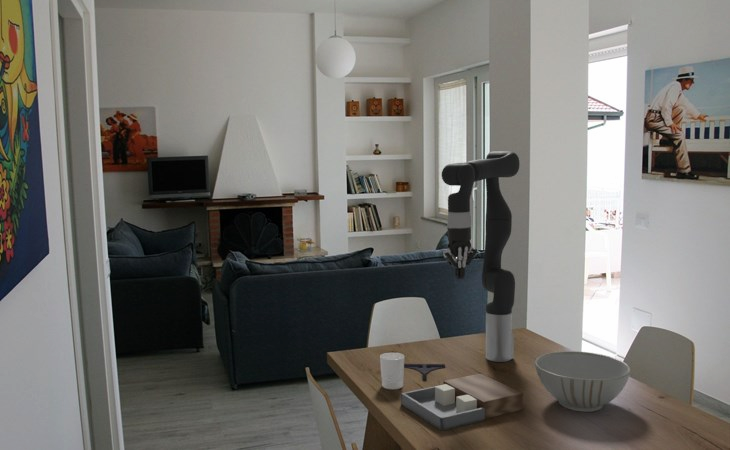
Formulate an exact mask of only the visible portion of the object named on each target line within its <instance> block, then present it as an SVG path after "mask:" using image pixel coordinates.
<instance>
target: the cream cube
mask: <svg viewBox="0 0 730 450" xmlns="http://www.w3.org/2000/svg"><path fill="white" fill-rule="evenodd" d="M435 401H436V402H438V403H440V404H442V405H443V406H445V405H449V404H453V403H455V388H453V387H451V386H449V385H447V384H444V383H443V384H440V385H435Z"/></svg>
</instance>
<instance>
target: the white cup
mask: <svg viewBox="0 0 730 450" xmlns="http://www.w3.org/2000/svg"><path fill="white" fill-rule="evenodd" d="M379 359H380V362H379V363H380V364H379V365H380V377H381V386H382V388H384V389H386V390H399V389H401V388H403V387H404V375H405V367H404V364H405V355H404V354H402V353H401V352H386V353H382V354H380V355H379Z"/></svg>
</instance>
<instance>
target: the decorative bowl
mask: <svg viewBox="0 0 730 450" xmlns="http://www.w3.org/2000/svg"><path fill="white" fill-rule="evenodd" d="M534 366H535V370H536V373H537V376H538V379H539V380H540V383H542V385H543V387H544V388H545V390H546V391H547V392H548V393H549V394H550V396H552V397H553V398H554V399H556V400H557V401H559V405H560V406H561V407H563V408H565V409H567V410H571V411H574V412H575V411H576V412H582V413H590V412H591V413H592V412H598V411H600V410H602V409H603V407H604V405H606V404H608V403H611V402H612V401H613V400H615V399H616V398H617V397H618V396H619V395H620V394H621V392H622V391H623V390H624V388H625V387H626V385H627V383H628V380H629V378H630V375H631V367H630V366H629V365H628V364H627V363H626V362H624V361H622V360H620V359H617V358H616V357H613V356H610V355H606V354H605V355H604V354H601V353H594V352H586V351H574V350H573V351H571V350H570V351H569V350H568V351H565V350H564V351H554V352H548V353H544V354H541V355H540V356H538V357H536V358H535V360H534Z"/></svg>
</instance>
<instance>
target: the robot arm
mask: <svg viewBox="0 0 730 450" xmlns="http://www.w3.org/2000/svg"><path fill="white" fill-rule="evenodd" d="M519 169H520V158H519V155H518V154H517V153H516V152H514V151H507V150H504V151H503V150H502V151H497V150H496V151H490V152H488V153H487V155H486V158H483V159H482V158H481V159H473V160H469V161H465V162H453V163H448V164H446V165H445V166H444V167H443V168H442V171H441V180H442V181H443V183H444V184H446V185H448V186H453V187H454V186H457V187H459V189H458V190H457V192H454V193H450V194H449V195H448V196H447V219H446V220H447V221H446V222H447V228H446V229H447V241H448V242H447V249H445V251H441V255H442V257H443V258H444V259H445V261H446V262H447V263H448V265H449V266H450V267H454V276H455V278H456V280H462V279H463V280H464V278H465V276H466V275H465V274H466V273H465V272H466V271H465V270H466V269H465V268H466V266H469V265H470V264H471V262H472V261H473V259H474V257H475V255H476V254H477V252H478V249H477V248H474V247H473V246H472V243H471V241H472V240H471V239H472V217H471V196H472V193H473V186H474V183H476V182H480V181H482V180H485V188H486V189H485V190H486V201H485V203H486V207H485V208H486V209H485V239H484V255H483V263H482V272H481V285H482V287H483V288H484V290H485V291H487V292H490V293H492V294H493V297H492V298H493V299H492V301H491V302H488V303H487V304H486V305H485V359H486V360H487V361H490V362H494V363H495V362H498V363H505V362H509V361H511V360H513V359H514V355H515V353H514V349H515V348H514V347H515V345H514V342H515V334H514V332H512V330H513V329H512V323H513V322H512V321H513V320H512V319H513V318H512V315H513V313H512V312H513V307H514V305H515V294H516V280H515V275H514V273H512V271H511V270H508V269H504V268H502V255H503V252H504V248H505V246H506V245H507V244H508V241H509V239H510V237H511V234H512V228H513V227H512V222H513V221H512V219H513V218H512V217H513V216H512V215H513V214H512V212H511V209H510V207H509V205H508V203H507V202H506V200H505V198H504V196H503V194H502V191H501V189H500V188H501V187H500V178H512V177H514V176H516V175H517V174H518V172H519Z"/></svg>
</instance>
